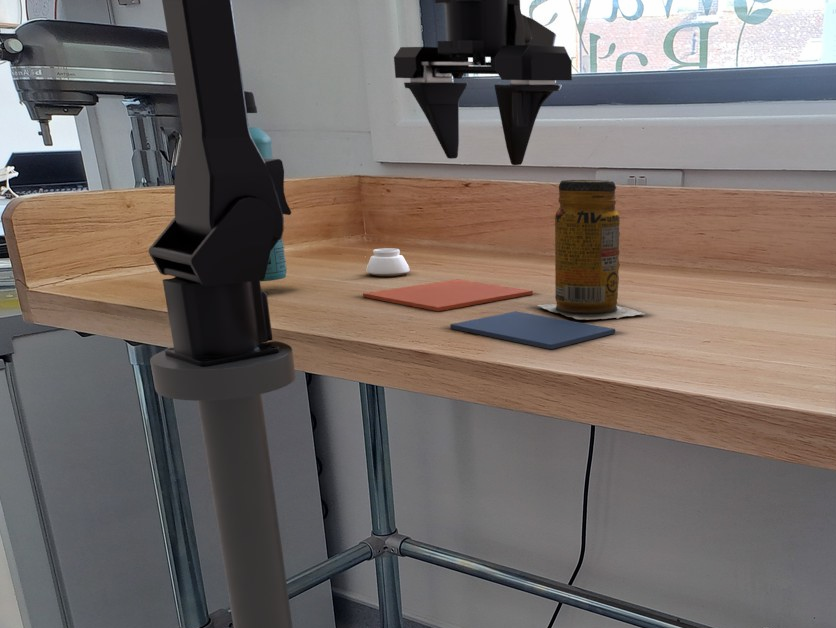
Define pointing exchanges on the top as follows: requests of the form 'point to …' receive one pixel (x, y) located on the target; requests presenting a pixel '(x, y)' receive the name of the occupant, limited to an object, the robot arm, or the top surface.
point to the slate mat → (533, 329)
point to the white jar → (387, 263)
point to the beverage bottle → (263, 143)
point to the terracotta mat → (447, 294)
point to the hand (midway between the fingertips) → (483, 161)
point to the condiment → (587, 252)
